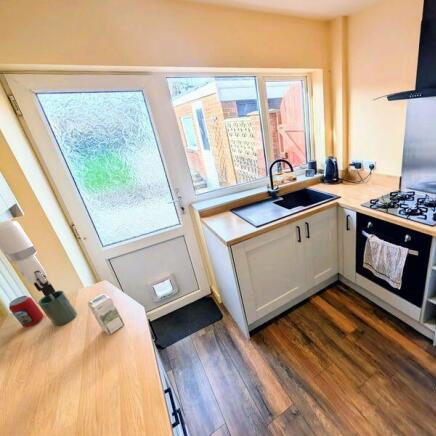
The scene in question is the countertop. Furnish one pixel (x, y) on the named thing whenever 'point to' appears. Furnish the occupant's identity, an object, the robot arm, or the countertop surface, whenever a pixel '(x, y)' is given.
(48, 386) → the countertop surface
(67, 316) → the dark green mug
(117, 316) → the syrup box
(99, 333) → the countertop surface
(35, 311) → the beverage can
